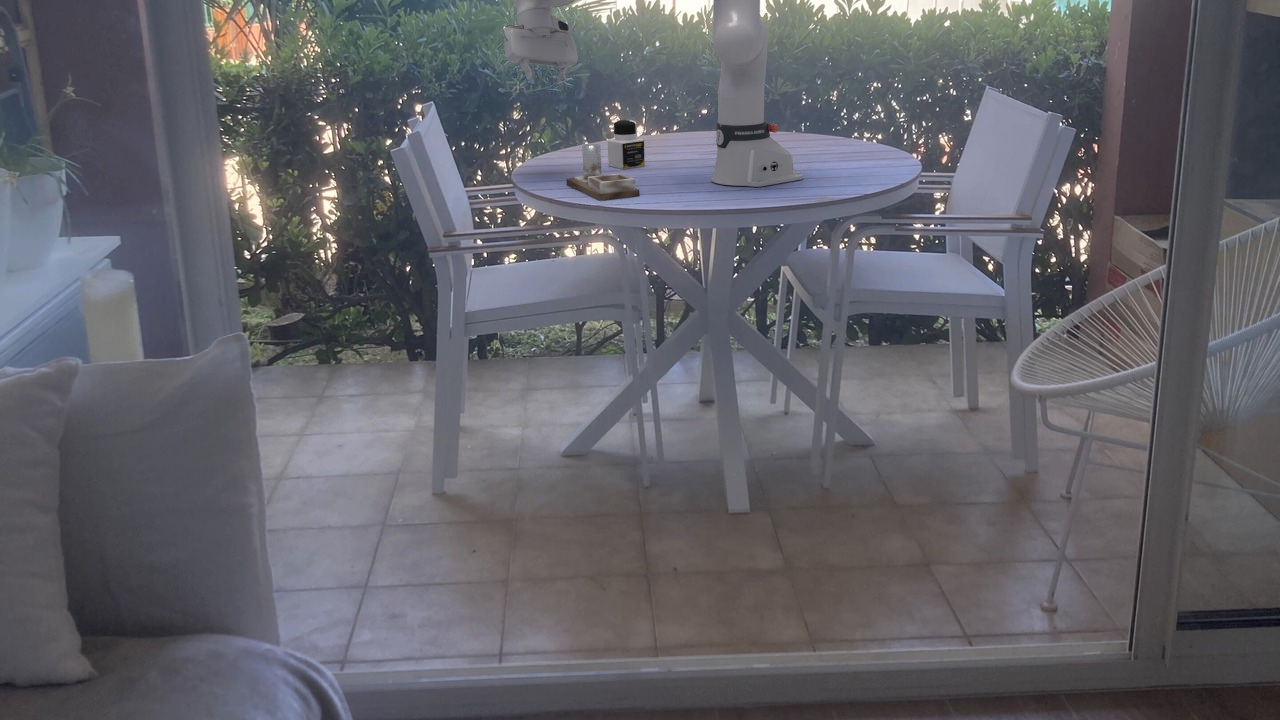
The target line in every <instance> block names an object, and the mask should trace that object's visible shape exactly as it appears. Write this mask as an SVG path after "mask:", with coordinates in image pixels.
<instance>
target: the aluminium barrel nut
mask: <svg viewBox="0 0 1280 720" xmlns="http://www.w3.org/2000/svg"><path fill="white" fill-rule="evenodd" d="M581 148H582V150H581V152H582V172H583V173H582V174H583V177H584V179H586V180H588V177H591V176H601V175H602V157H601V156H602V154H601V144H600V143H586V144H582V146H581Z"/></svg>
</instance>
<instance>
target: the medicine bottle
mask: <svg viewBox="0 0 1280 720" xmlns="http://www.w3.org/2000/svg"><path fill="white" fill-rule="evenodd" d="M637 125H638V123H637V122H636V121H635V120H632V119H623V120H616V121H615V122H614V123H613V137H614V138H608V139H607V162H608V164H607V165H608V167H612V168H615V169H616V168H617V169H619V170H628V169H629V170H630V169H635V168H642V167H644V166H645V165H646V161H645V140H644V138H637V137H638V126H637Z"/></svg>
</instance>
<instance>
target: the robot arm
mask: <svg viewBox="0 0 1280 720" xmlns="http://www.w3.org/2000/svg"><path fill="white" fill-rule="evenodd" d="M574 1H575V0H512V2H513V5H514V7H515V9H516V21H517V24H513V23H507V24H506V25H504V26H503V27H502V34H503V38H504V39H503V45H504V46H503V47H504V48H503V49H504V55H505V58H506V59H507V60H508V62H510V63H519V67H520V68H521V69H522V71H523V72H524V74H525V77H526V80H530V81H531V80H534V79H536V72H535V71H534V70H532V68H531V67H530V65H539V66H547V67H548V66H550V67H557V69H558V71H560V72H559V74H557V75H556V79H557V82H558V83H565V82H566V81H567V77H566V74H567V70H568V69H569V68H572V67H573V66H575V65H576V64H578V63H577V62H578V61H579V54H578V50H577V45H576V42H575V40H574V39H575V38H574V37H573V36H572V35H571V33H572V27H571V25H570V24H569V23H567V22H565V21H563V20H561V19H559V18H557V17H556V16H554V15H553V13H552V10H553V8H560V7H562V6H563V7H564V6H567V5H570V4H572V3H573V2H574ZM712 3H713V5H712V9H713V10H712V11H713V12H712V30H713V31H712V32H713V33H712V34H713V35H712V37H713V40H712V41H713V42H712V44H713V45H712V46H713V50H714V53H715V55H716V56H717V57H718V58H719V60H721V63H720V64H721V65H720V76H719V83H718V88H717V102H718V103H717V122H716V133H715V139H716V140H715V141H716V146H717V150H716V156H715V157H716V158H715V159H716V160H715V165H714V171H713V175H712V178H711V182H713V183H715V184H718V185H725V186H735V187H736V186H739V187H741V186H743V187H754V188H755V187H756V188H757V187H765V186H772V185H778V184H782V183H788V182H794V181H800V180H804V179H803V177H804V176H803V173H801V171H798V170H795V168H794V161H793V156H792V154H791V153H790V151H789V150H788V149H787V148H784V147H783V146H782V145H781V144H780V143H779V142H778V141H776V140H775V139H774V138H772V137H771V134H770V132H771V133H777V132H778V131H779V126H778V125H777V124H776V123H775V124H774V123H770V124H769V123H768V122H765V85H766V82H765V81H766V75H767V64H768V63H767V62H768V61H767V60H768V47H769V46H768V45H769V33H768V29H767V27H766V24H765V23H764V22H763V20H762V19H761V0H713V2H712ZM529 64H530V65H529Z"/></svg>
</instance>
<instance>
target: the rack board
mask: <svg viewBox="0 0 1280 720" xmlns="http://www.w3.org/2000/svg"><path fill="white" fill-rule="evenodd" d="M635 181H636V180H635V178H633V177H631V176H628V175H626V174H623V173H612V174H601V176H591V177H588V180H586V179H584V177H583V176H582V175H581V176H574V177H572V178H566V182H565V183H566V186H567V187H570V188H572V189H574V190H576V191H578V192H580V193H582V192H583V193H582V194H584V193H585V194H584V195H587V196H589V197H590V198H592V199H595V200H597V201H599V200H604V201H610V200H612V201H613V200H620V199H629V198H637V197H640V195H641V193H640V189H639V188H636V182H635Z"/></svg>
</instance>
